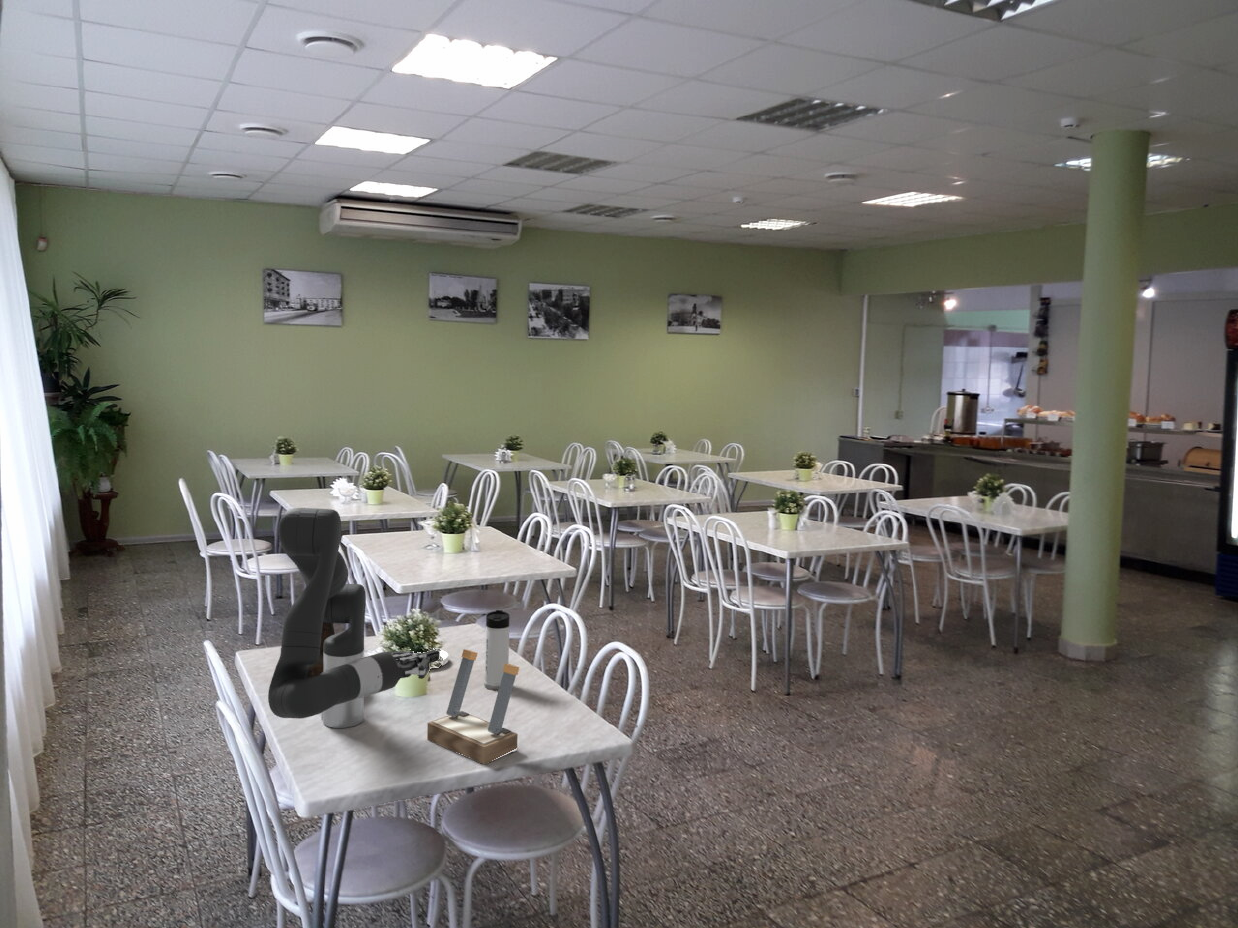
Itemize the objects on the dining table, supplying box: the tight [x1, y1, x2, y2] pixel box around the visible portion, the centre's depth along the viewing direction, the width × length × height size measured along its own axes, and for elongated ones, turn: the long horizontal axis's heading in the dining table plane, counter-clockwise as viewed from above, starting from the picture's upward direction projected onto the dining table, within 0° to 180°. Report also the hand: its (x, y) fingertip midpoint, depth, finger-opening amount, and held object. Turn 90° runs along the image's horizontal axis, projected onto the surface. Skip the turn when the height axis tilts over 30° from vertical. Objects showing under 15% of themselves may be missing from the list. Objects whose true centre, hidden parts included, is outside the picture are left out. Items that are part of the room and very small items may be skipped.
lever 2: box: [488, 663, 520, 735], centre depth 204 cm, size 3×2×15 cm
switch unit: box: [426, 710, 519, 765], centre depth 207 cm, size 19×10×5 cm, turn 51°
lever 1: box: [445, 649, 478, 718], centre depth 212 cm, size 3×2×15 cm
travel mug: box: [483, 609, 510, 691], centre depth 244 cm, size 6×7×20 cm
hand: (437, 654), depth 196 cm, fingers closed
